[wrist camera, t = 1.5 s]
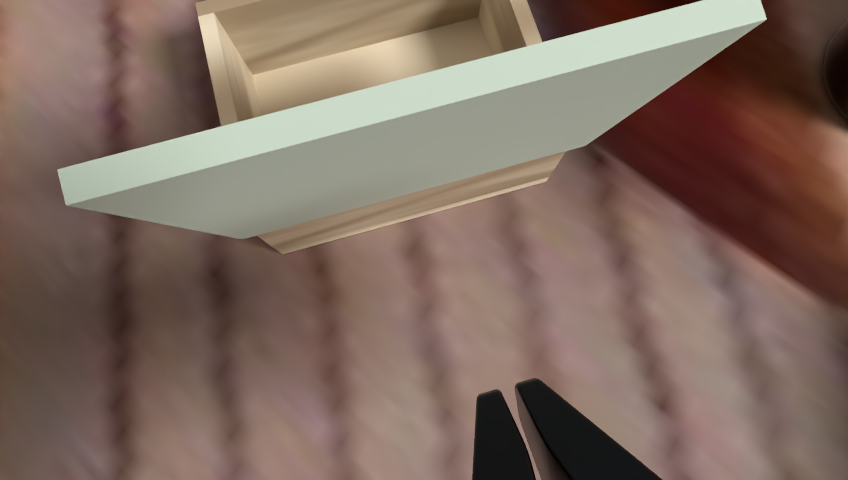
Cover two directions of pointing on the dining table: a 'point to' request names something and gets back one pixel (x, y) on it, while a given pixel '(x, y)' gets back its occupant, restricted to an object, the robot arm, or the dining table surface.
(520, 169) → the oak box
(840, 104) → the supplement bottle
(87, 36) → the dining table surface
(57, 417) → the dining table surface
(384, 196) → the lid
